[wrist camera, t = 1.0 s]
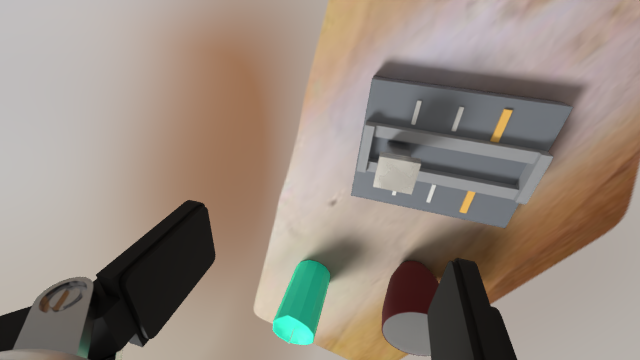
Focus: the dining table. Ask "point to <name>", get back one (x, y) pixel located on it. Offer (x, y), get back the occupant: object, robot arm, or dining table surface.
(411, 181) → the fader tab
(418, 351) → the mug
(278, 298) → the dining table surface
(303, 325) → the candle
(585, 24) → the dining table surface
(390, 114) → the console
